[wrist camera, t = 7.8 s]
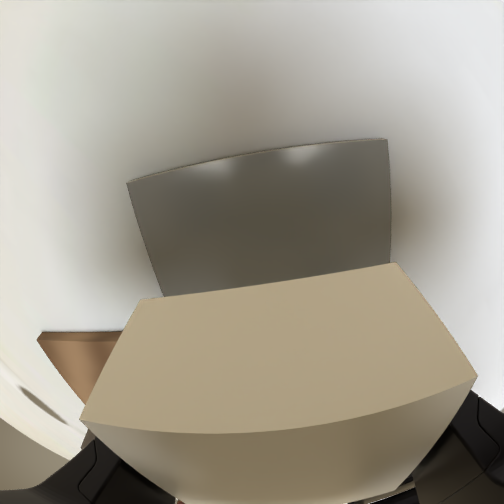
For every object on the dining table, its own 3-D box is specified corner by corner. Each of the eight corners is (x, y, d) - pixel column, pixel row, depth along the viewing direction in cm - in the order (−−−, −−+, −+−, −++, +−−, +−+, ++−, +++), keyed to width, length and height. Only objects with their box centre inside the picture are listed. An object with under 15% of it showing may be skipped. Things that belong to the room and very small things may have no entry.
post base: (166, 329, 17) (132, 424, 10) (217, 426, 22) (209, 495, 15) (42, 332, 18) (0, 391, 11) (107, 418, 23) (87, 472, 16)
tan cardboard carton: (372, 408, 8) (394, 490, 5) (208, 428, 9) (197, 510, 6) (395, 261, 6) (478, 375, 3) (140, 299, 6) (79, 418, 3)
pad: (382, 138, 11) (387, 139, 11) (381, 312, 16) (384, 318, 15) (131, 180, 13) (126, 183, 12) (186, 340, 17) (184, 346, 16)
